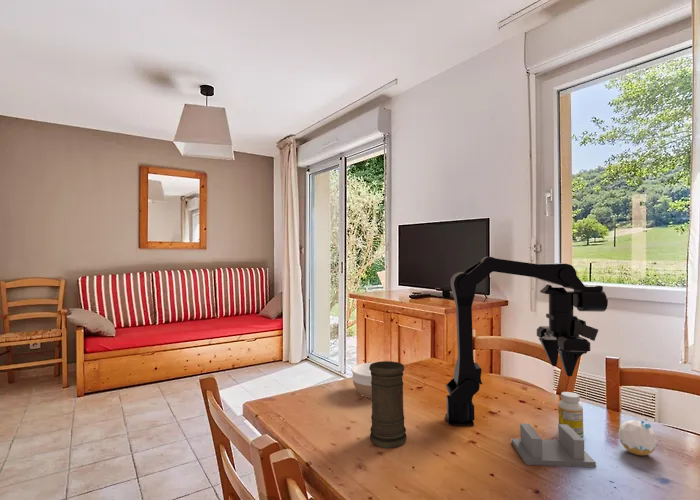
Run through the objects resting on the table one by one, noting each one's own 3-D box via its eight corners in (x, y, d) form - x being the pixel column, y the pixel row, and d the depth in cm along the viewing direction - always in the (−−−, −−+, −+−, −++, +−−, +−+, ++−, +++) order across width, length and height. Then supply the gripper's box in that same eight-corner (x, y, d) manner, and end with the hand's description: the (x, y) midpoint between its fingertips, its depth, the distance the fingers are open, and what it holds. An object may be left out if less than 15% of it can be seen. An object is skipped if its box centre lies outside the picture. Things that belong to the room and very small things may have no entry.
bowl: (369, 382, 142) (368, 360, 142) (409, 390, 132) (409, 366, 133) (341, 395, 129) (341, 370, 129) (384, 405, 119) (384, 379, 120)
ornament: (617, 455, 88) (616, 418, 88) (621, 443, 94) (620, 408, 94) (655, 465, 84) (654, 426, 84) (657, 452, 89) (656, 415, 89)
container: (382, 451, 91) (381, 372, 92) (363, 436, 99) (361, 363, 100) (414, 442, 96) (413, 366, 96) (393, 428, 103) (392, 358, 104)
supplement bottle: (581, 440, 95) (580, 399, 95) (556, 434, 99) (555, 395, 99) (585, 432, 99) (584, 393, 100) (561, 426, 103) (560, 389, 103)
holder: (526, 464, 85) (525, 440, 85) (511, 442, 95) (511, 421, 95) (595, 466, 83) (595, 442, 83) (573, 444, 93) (573, 422, 93)
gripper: (613, 316, 95) (614, 383, 95) (576, 307, 114) (577, 362, 113) (564, 316, 96) (564, 381, 96) (535, 306, 115) (536, 361, 114)
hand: (561, 370), depth 105 cm, fingers open, 9 cm apart
